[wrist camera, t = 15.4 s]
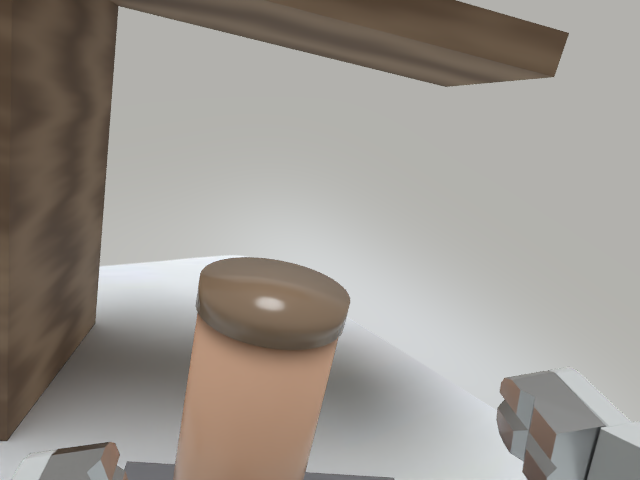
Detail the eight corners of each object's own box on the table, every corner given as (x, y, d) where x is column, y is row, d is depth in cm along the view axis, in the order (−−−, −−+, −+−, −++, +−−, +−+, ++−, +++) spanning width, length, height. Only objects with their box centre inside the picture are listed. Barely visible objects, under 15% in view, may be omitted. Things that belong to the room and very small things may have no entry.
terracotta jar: (284, 642, 16) (366, 329, 13) (140, 646, 15) (189, 307, 12) (277, 519, 21) (335, 268, 18) (168, 516, 20) (208, 249, 17)
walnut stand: (421, 467, 27) (568, 33, 20) (-35, 437, 23) (-48, -146, 16) (371, 355, 40) (453, 59, 33) (68, 320, 35) (88, -36, 28)
